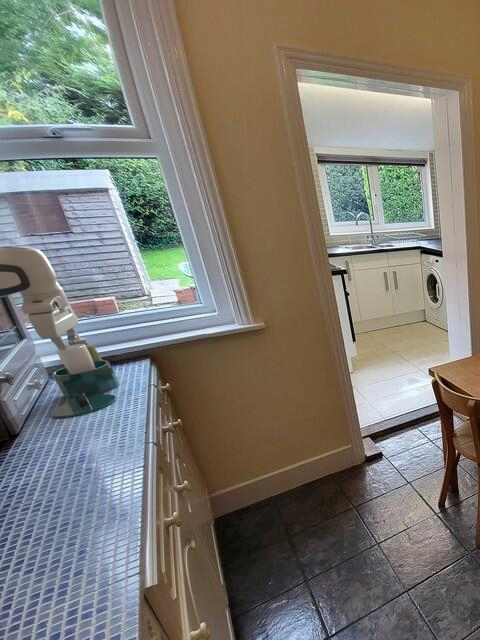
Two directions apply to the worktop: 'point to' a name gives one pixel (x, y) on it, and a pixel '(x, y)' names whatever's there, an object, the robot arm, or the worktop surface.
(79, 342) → the squeeze bottle
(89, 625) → the worktop surface
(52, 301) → the robot arm
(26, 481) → the worktop surface
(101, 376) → the pot
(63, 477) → the worktop surface
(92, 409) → the lid
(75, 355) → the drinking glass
